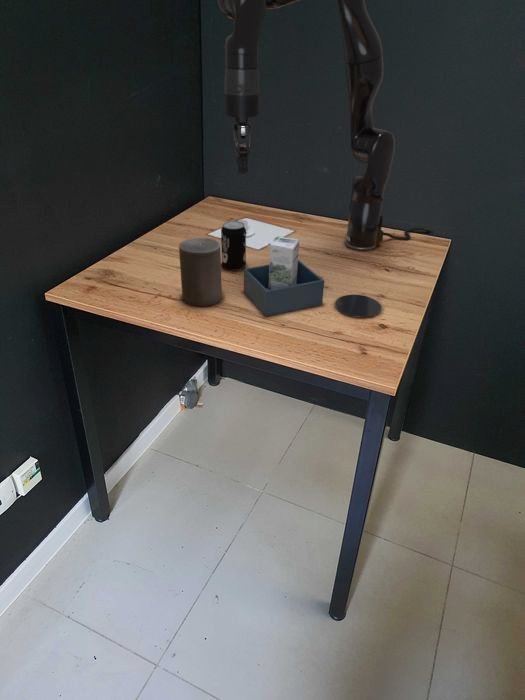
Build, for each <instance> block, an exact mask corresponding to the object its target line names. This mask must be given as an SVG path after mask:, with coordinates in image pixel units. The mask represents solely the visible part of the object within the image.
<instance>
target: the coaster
mask: <svg viewBox="0 0 525 700" xmlns="http://www.w3.org/2000/svg"><path fill="white" fill-rule="evenodd" d="M334 307H335V309H336V310H337V311H338V312H339V313H340V314H342V315H344V316H346V317H350V318H354V319H355V318H356V319H370V318H373V317H375V316H378V315H379V314H381V312H382V305H381V304H380V302H379V301H377V300H376V299H374V298H373V297H369V296H368V295H362V294H346V295H341V296H340V297H338V298H337V299H335V303H334Z"/></svg>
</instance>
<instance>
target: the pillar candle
mask: <svg viewBox="0 0 525 700" xmlns="http://www.w3.org/2000/svg"><path fill="white" fill-rule="evenodd" d="M221 246H222V243H221V242H220V241H219V240H216V239H214V238H209V237H192V238H191V237H190V238H187V239H184V240H182V241H180V243H179V244H178V253H179V268H180V281H181V294H182V295H181V297H182V300H183V302H184V303H185V304H187V305H189V306H190V305H191V306H193V307H208V306H212V305H215V304H218V303H219V302H220V301H221V300H222V297H223V289H222V285H223V284H222V251H221Z"/></svg>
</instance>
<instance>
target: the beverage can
mask: <svg viewBox="0 0 525 700" xmlns="http://www.w3.org/2000/svg"><path fill="white" fill-rule="evenodd" d="M221 228H222V229H221ZM221 228H220V229H221V238H220V239H221V242H220V244H221V266H222V267H224V269H226V270H228V271H239V270H242V269H244V267H245V266H246V265H247V246H246V229H245V227H244V223H242V222H239V221H238V220H228V221H225V222H223V223H222V227H221Z"/></svg>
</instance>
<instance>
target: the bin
mask: <svg viewBox="0 0 525 700" xmlns="http://www.w3.org/2000/svg"><path fill="white" fill-rule="evenodd" d="M324 289H325V279H323V278H322V277H320V275H318V274H317V273H315V272H314V271H313V270H312V269H311V268H310V267H308V265H306V264H304V263H303V262H302V261H301V260H299V259H298V267H297V283H296V285H293V286H288V287H282V288H277V289H272V290H269V264H264V265H259V266H253V267H247V268H243V293H244V294H245V296H246V297H247V298H248V299H249V300H250V301H251V302H252V303H253V304H254V305H255V306H256V307H257V308H258V310H259V311H260V312H261V314H263V315H264V316H265V317H270V316H274V315H278V314H283V313H287V312H293V311H298V310H302V309H307V308H311V307H315V306H321V305H323V301H324V300H323V299H324Z"/></svg>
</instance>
